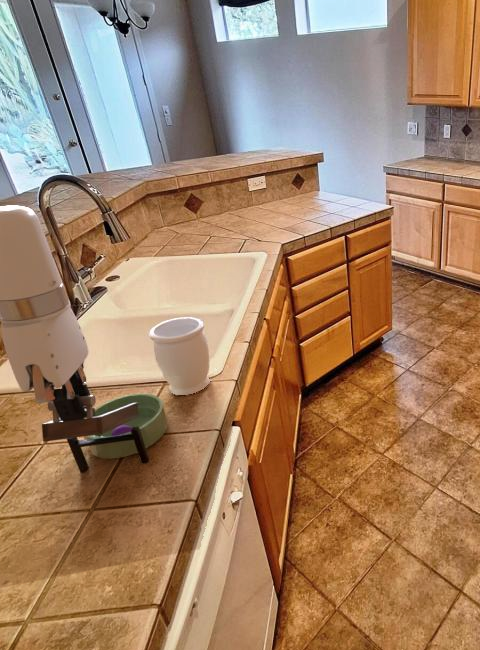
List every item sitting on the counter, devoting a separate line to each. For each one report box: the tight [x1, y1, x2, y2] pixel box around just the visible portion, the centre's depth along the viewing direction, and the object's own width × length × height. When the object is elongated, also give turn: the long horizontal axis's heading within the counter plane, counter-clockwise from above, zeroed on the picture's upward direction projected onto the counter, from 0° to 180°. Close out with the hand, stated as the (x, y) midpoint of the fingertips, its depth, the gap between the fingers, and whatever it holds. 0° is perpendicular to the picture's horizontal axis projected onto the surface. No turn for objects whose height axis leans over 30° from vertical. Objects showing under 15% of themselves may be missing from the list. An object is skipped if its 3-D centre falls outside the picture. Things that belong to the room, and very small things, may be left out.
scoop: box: [41, 394, 139, 443], centre depth 70 cm, size 8×14×6 cm
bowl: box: [82, 392, 169, 460], centre depth 81 cm, size 13×13×5 cm
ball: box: [111, 425, 132, 436], centre depth 79 cm, size 4×4×4 cm
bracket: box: [66, 426, 150, 474], centre depth 74 cm, size 11×1×8 cm, turn 103°
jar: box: [148, 316, 211, 396], centre depth 94 cm, size 11×10×15 cm
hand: (78, 412), depth 65 cm, fingers closed on scoop, 2 cm apart
